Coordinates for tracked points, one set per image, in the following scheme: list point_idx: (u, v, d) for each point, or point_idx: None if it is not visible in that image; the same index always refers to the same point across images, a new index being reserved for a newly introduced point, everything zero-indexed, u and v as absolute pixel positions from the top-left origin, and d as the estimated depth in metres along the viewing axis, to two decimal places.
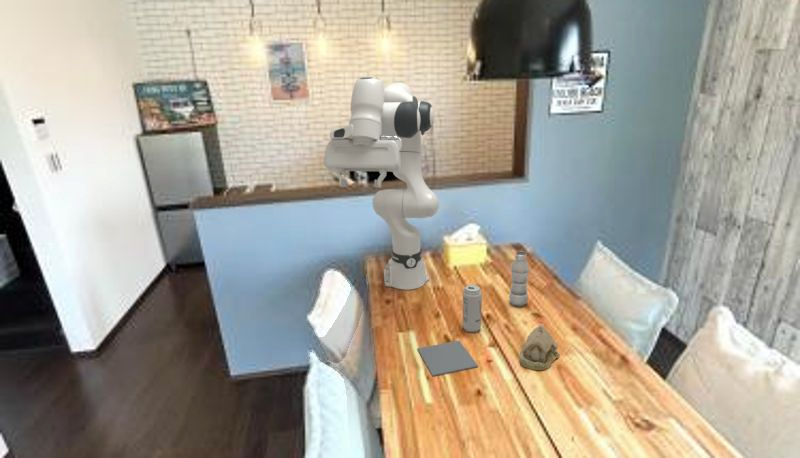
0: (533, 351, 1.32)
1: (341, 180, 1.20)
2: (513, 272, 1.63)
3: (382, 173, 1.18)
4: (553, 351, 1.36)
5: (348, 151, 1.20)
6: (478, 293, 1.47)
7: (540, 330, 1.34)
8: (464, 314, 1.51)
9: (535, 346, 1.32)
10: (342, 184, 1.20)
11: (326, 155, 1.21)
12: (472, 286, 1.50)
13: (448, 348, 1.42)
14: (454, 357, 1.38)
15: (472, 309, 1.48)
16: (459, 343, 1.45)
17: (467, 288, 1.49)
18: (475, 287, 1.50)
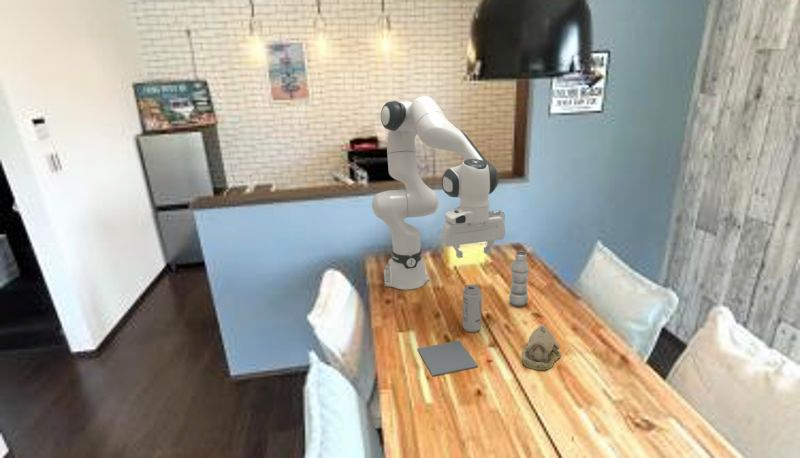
0: (536, 351, 1.32)
1: (460, 254, 1.43)
2: (513, 272, 1.63)
3: (492, 243, 1.45)
4: (555, 351, 1.36)
5: (465, 230, 1.40)
6: (478, 293, 1.47)
7: (542, 330, 1.34)
8: (464, 314, 1.51)
9: (538, 346, 1.32)
10: (460, 257, 1.43)
11: (448, 237, 1.39)
12: (472, 286, 1.50)
13: (448, 348, 1.42)
14: (454, 357, 1.38)
15: (472, 309, 1.48)
16: (459, 343, 1.45)
17: (467, 288, 1.49)
18: (475, 287, 1.50)
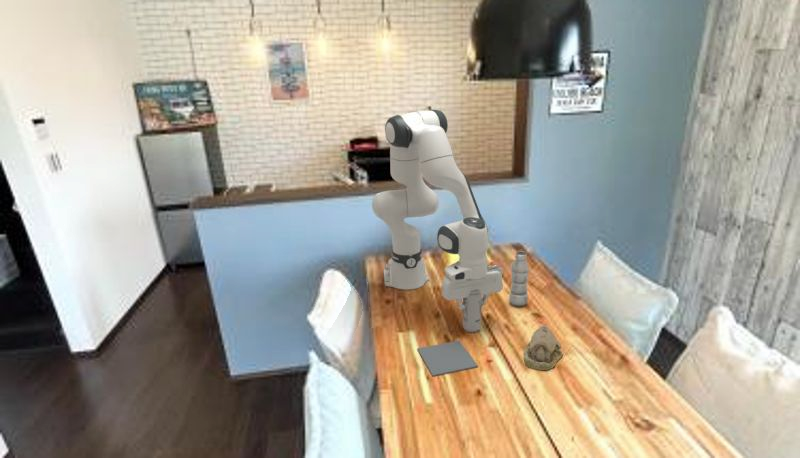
0: (538, 351, 1.32)
1: (462, 306, 1.49)
2: (513, 272, 1.63)
3: (487, 296, 1.50)
4: (557, 350, 1.37)
5: (464, 285, 1.46)
6: (478, 293, 1.47)
7: (544, 330, 1.34)
8: (464, 314, 1.51)
9: (540, 346, 1.32)
10: (463, 308, 1.50)
11: (448, 292, 1.45)
12: None
13: (448, 348, 1.42)
14: (454, 357, 1.38)
15: (472, 309, 1.48)
16: (459, 343, 1.45)
17: None
18: None
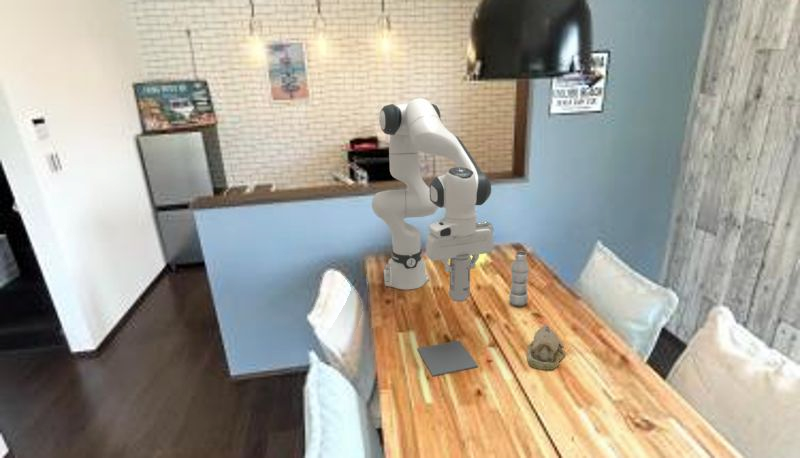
0: (542, 351, 1.32)
1: (449, 268, 1.34)
2: (513, 272, 1.63)
3: (477, 257, 1.36)
4: (560, 350, 1.37)
5: (451, 244, 1.31)
6: (466, 257, 1.33)
7: (547, 330, 1.34)
8: (451, 282, 1.36)
9: (544, 346, 1.32)
10: (449, 271, 1.35)
11: (432, 251, 1.29)
12: None
13: (448, 348, 1.42)
14: (454, 357, 1.38)
15: (460, 276, 1.34)
16: (459, 343, 1.45)
17: None
18: None
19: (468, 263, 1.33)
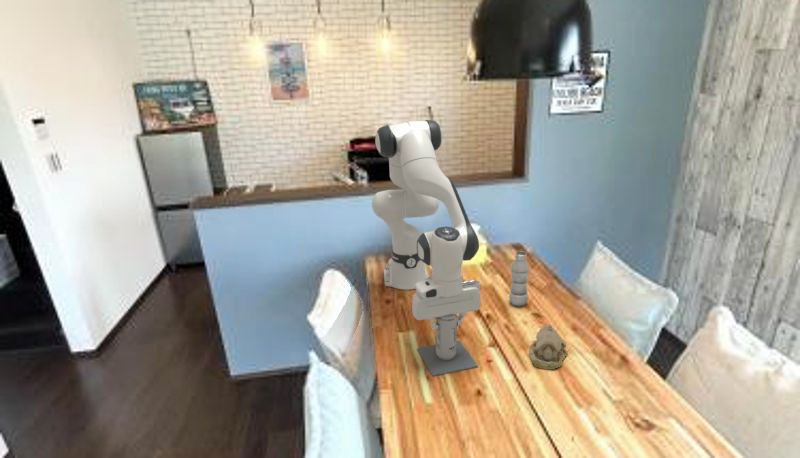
0: (546, 351, 1.32)
1: (435, 326, 1.33)
2: (513, 272, 1.63)
3: (464, 315, 1.34)
4: (562, 349, 1.37)
5: (437, 303, 1.30)
6: (452, 318, 1.32)
7: (550, 329, 1.35)
8: (437, 340, 1.35)
9: (547, 346, 1.32)
10: (436, 329, 1.33)
11: (418, 312, 1.28)
12: None
13: None
14: (454, 357, 1.38)
15: (445, 336, 1.33)
16: (459, 343, 1.45)
17: None
18: None
19: (454, 323, 1.32)
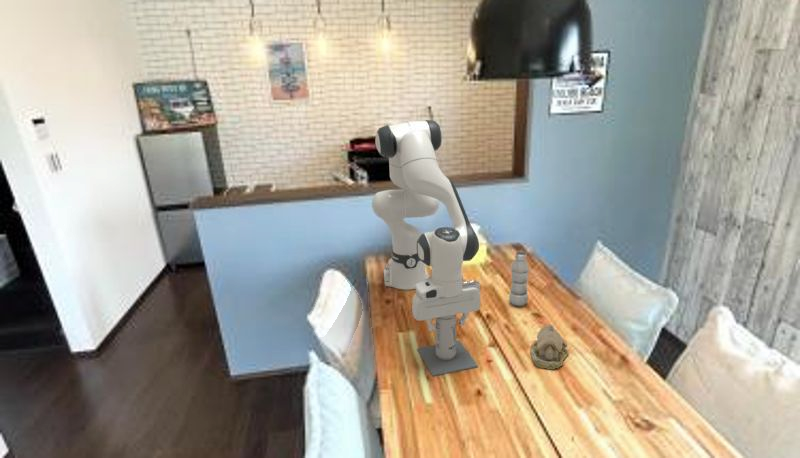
0: (547, 351, 1.32)
1: (432, 327, 1.33)
2: (513, 272, 1.63)
3: (467, 315, 1.35)
4: (563, 349, 1.37)
5: (437, 304, 1.30)
6: (451, 317, 1.32)
7: (551, 329, 1.35)
8: (437, 340, 1.36)
9: (549, 345, 1.32)
10: (433, 330, 1.33)
11: (418, 312, 1.28)
12: None
13: None
14: (454, 357, 1.38)
15: (445, 335, 1.33)
16: (459, 343, 1.45)
17: None
18: None
19: (453, 322, 1.33)
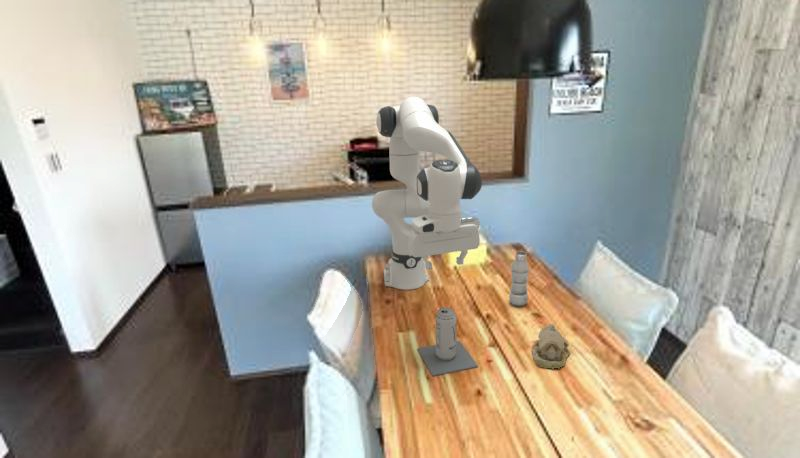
0: (549, 350, 1.32)
1: (429, 265, 1.28)
2: (513, 272, 1.63)
3: (465, 253, 1.30)
4: (565, 348, 1.38)
5: (434, 240, 1.26)
6: (451, 317, 1.32)
7: (553, 329, 1.35)
8: (437, 340, 1.36)
9: (551, 345, 1.32)
10: (430, 268, 1.29)
11: (415, 248, 1.24)
12: (446, 309, 1.35)
13: None
14: (454, 357, 1.38)
15: (445, 335, 1.33)
16: (459, 343, 1.45)
17: (440, 312, 1.34)
18: (449, 311, 1.34)
19: (453, 323, 1.33)
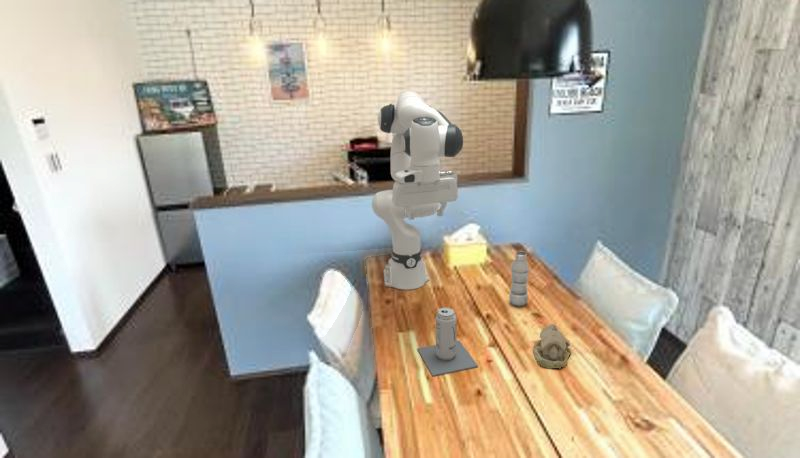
0: (551, 350, 1.32)
1: (411, 215, 1.40)
2: (513, 272, 1.63)
3: (445, 205, 1.42)
4: (566, 348, 1.38)
5: (416, 191, 1.37)
6: (451, 317, 1.32)
7: (555, 328, 1.35)
8: (437, 340, 1.36)
9: (553, 345, 1.32)
10: (412, 218, 1.40)
11: (397, 197, 1.35)
12: (446, 309, 1.35)
13: None
14: (454, 357, 1.38)
15: (445, 335, 1.33)
16: (459, 343, 1.45)
17: (440, 312, 1.34)
18: (449, 310, 1.34)
19: (453, 323, 1.33)
